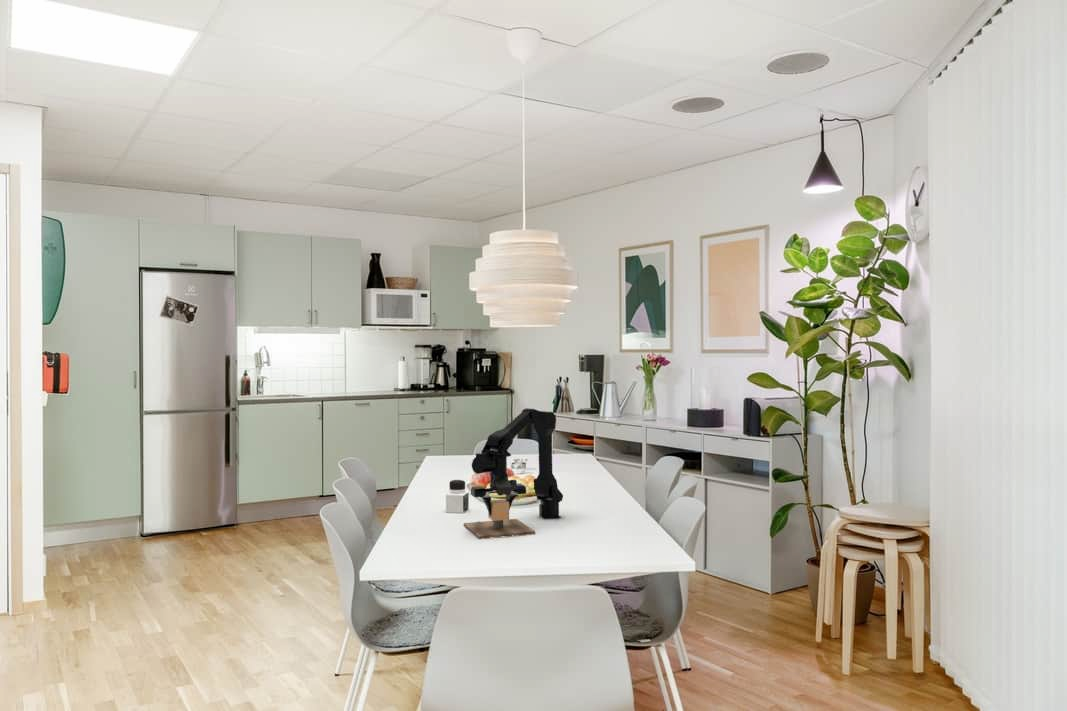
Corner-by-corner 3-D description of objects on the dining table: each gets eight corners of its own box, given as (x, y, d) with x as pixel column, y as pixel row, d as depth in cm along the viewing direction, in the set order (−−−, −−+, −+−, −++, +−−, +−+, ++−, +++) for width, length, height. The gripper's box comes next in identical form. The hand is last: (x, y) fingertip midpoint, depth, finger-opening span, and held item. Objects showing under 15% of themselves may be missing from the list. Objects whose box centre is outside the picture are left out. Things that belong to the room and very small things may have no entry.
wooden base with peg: (516, 521, 283) (516, 499, 283) (535, 534, 264) (535, 510, 264) (463, 525, 276) (463, 503, 276) (478, 539, 258) (478, 515, 257)
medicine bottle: (463, 513, 297) (463, 482, 297) (445, 512, 298) (445, 481, 298) (468, 509, 304) (468, 479, 304) (451, 508, 305) (451, 478, 305)
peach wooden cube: (504, 516, 274) (504, 499, 274) (509, 519, 268) (509, 502, 268) (488, 517, 272) (488, 500, 272) (493, 520, 266) (493, 503, 266)
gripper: (478, 475, 259) (479, 522, 260) (531, 472, 266) (531, 517, 266) (470, 470, 270) (470, 515, 270) (521, 467, 276) (521, 511, 276)
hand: (498, 515), depth 270 cm, fingers closed on peach wooden cube, 6 cm apart
